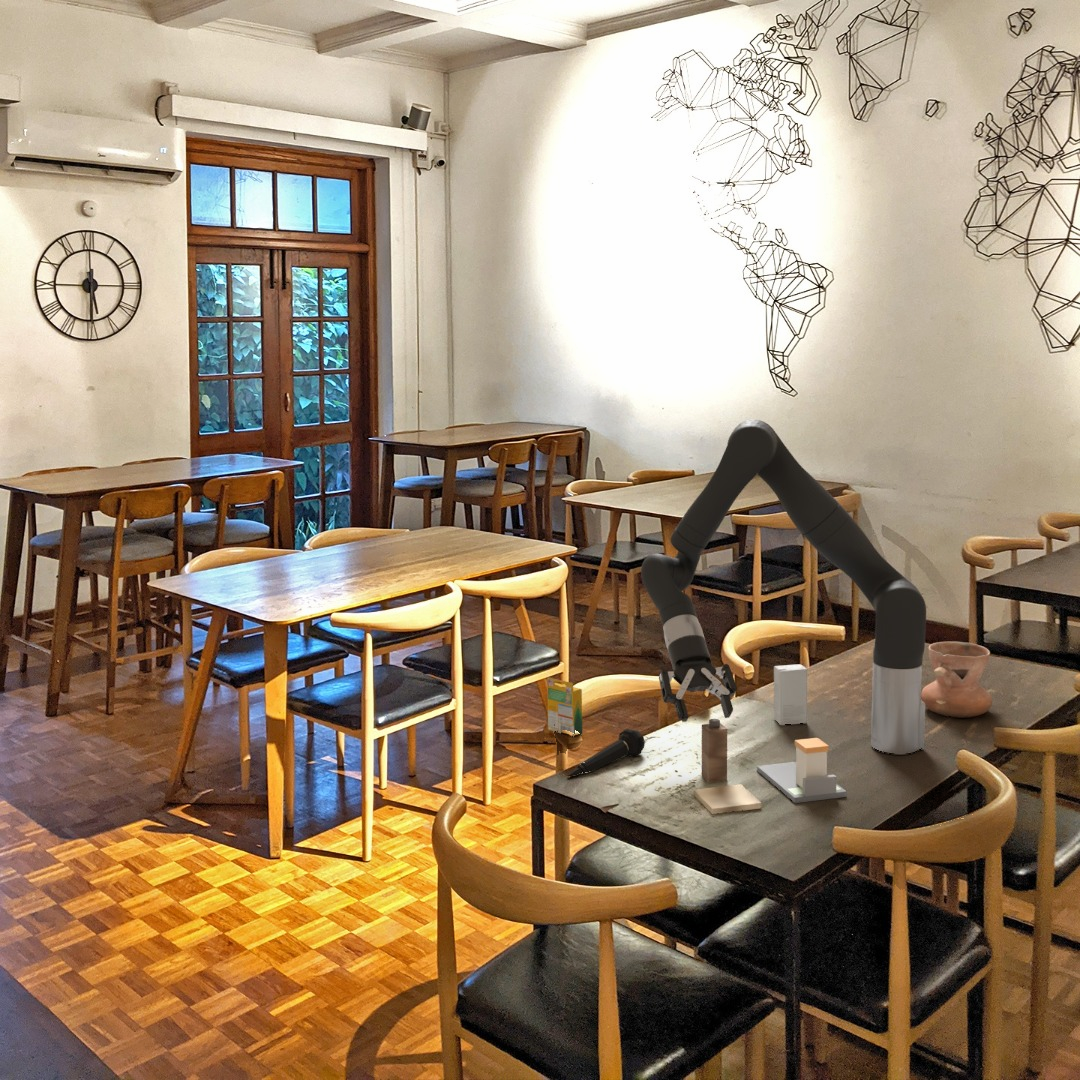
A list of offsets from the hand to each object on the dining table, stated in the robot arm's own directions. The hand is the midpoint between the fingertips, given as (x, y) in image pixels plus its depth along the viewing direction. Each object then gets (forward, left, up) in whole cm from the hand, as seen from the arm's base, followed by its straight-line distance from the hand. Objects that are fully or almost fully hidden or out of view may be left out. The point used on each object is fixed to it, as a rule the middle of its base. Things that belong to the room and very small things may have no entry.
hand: (707, 718), depth 221 cm
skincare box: (-27, -22, -11) cm, 36 cm away
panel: (-14, +11, -11) cm, 20 cm away
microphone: (+17, -10, -11) cm, 23 cm away
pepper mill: (0, +4, -11) cm, 11 cm away
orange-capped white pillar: (-14, +15, -9) cm, 22 cm away
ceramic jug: (-64, -17, -11) cm, 67 cm away
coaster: (+2, +14, -11) cm, 18 cm away
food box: (+20, -30, -11) cm, 37 cm away
